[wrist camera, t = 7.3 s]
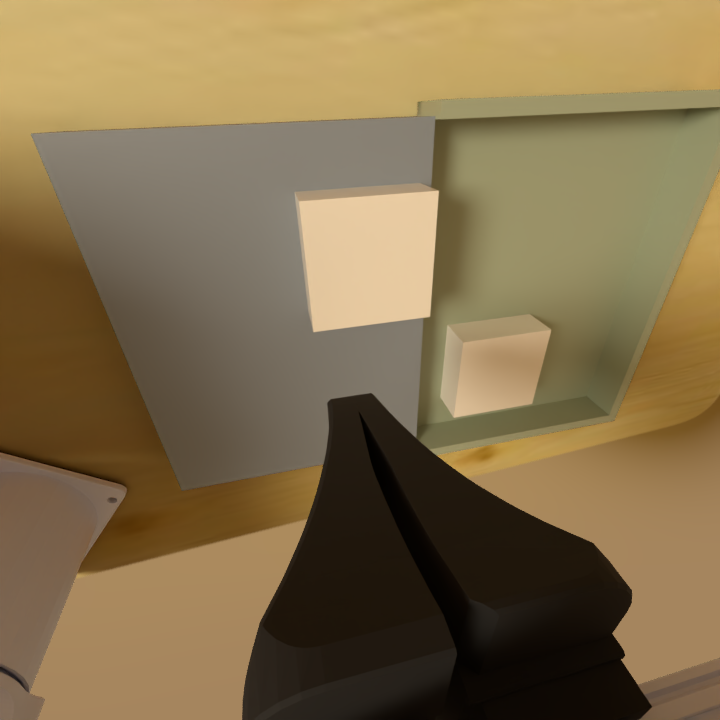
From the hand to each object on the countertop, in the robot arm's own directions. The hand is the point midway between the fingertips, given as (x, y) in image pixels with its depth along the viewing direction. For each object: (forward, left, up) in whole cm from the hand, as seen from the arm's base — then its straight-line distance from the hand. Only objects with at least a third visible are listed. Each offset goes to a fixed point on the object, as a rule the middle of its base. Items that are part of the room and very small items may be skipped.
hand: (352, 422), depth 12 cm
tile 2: (+3, -10, -9) cm, 14 cm away
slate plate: (-2, +1, -9) cm, 9 cm away
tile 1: (+4, 0, -7) cm, 8 cm away
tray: (+7, -9, -9) cm, 15 cm away
